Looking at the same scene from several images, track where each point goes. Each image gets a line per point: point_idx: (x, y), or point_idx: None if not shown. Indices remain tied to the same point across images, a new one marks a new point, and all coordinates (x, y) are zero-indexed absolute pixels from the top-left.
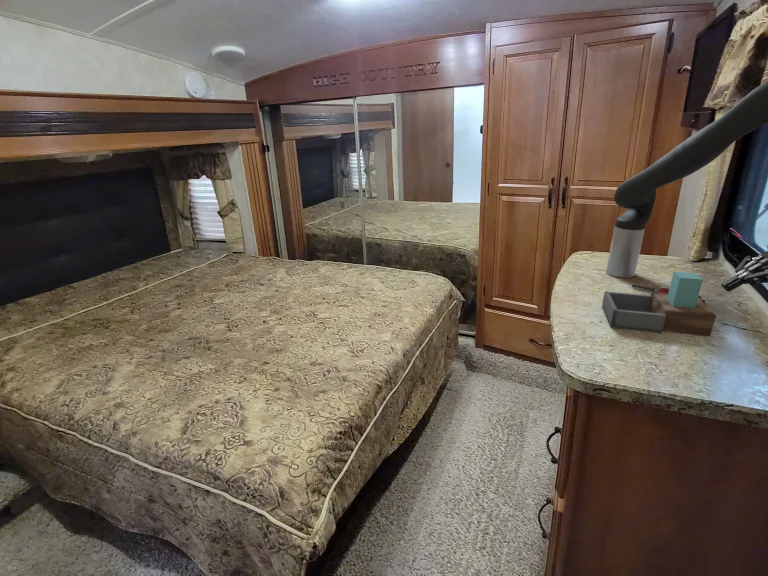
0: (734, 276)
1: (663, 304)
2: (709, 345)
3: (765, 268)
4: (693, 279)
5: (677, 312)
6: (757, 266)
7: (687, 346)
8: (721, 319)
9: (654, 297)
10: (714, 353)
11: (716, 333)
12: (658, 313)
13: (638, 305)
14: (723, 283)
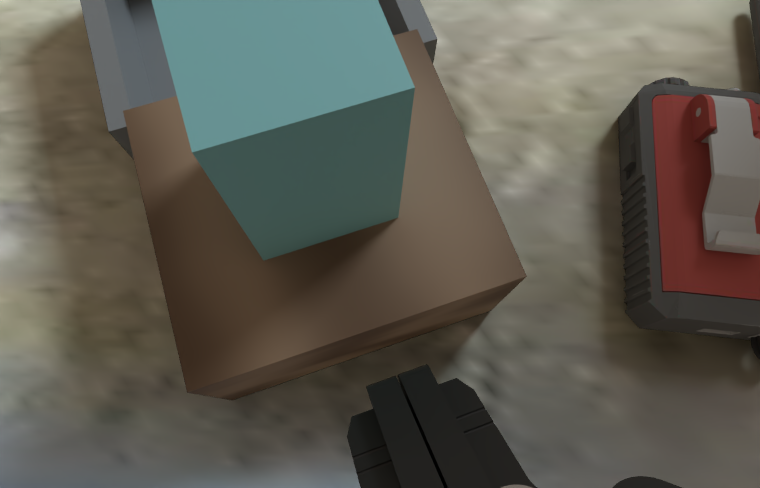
0: (476, 478)
1: None
2: (104, 399)
3: None
4: (175, 80)
5: (140, 173)
6: None
7: (40, 300)
8: (560, 463)
9: None
10: (6, 423)
11: (303, 434)
12: (125, 94)
13: None
14: (414, 379)
